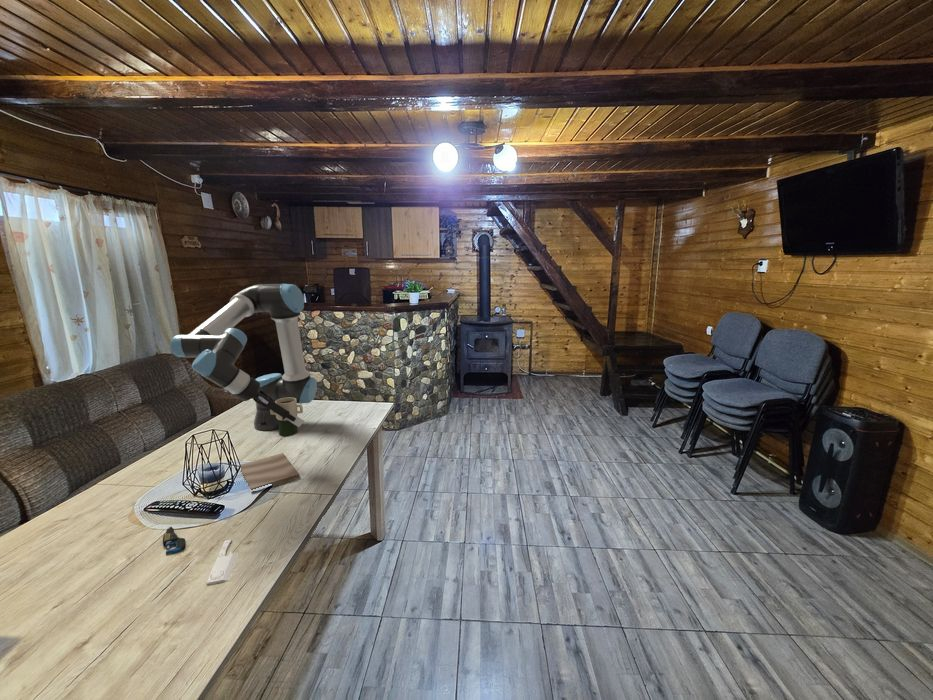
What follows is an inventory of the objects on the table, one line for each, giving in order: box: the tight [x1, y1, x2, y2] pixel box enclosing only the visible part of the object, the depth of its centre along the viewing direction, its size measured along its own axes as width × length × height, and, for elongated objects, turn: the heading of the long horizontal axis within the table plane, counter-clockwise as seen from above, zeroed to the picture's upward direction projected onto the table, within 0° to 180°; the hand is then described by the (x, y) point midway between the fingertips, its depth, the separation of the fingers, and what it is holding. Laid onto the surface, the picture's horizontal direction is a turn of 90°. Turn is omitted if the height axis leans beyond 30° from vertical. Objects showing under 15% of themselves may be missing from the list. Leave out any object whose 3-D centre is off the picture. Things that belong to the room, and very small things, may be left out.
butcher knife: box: [205, 539, 239, 586], centre depth 99 cm, size 5×15×1 cm, turn 16°
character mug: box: [270, 397, 304, 438], centre depth 141 cm, size 11×7×13 cm, turn 99°
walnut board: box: [240, 452, 300, 490], centre depth 140 cm, size 20×15×2 cm
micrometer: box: [162, 526, 186, 555], centre depth 106 cm, size 12×2×5 cm
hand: (297, 420), depth 144 cm, fingers closed on character mug, 7 cm apart
